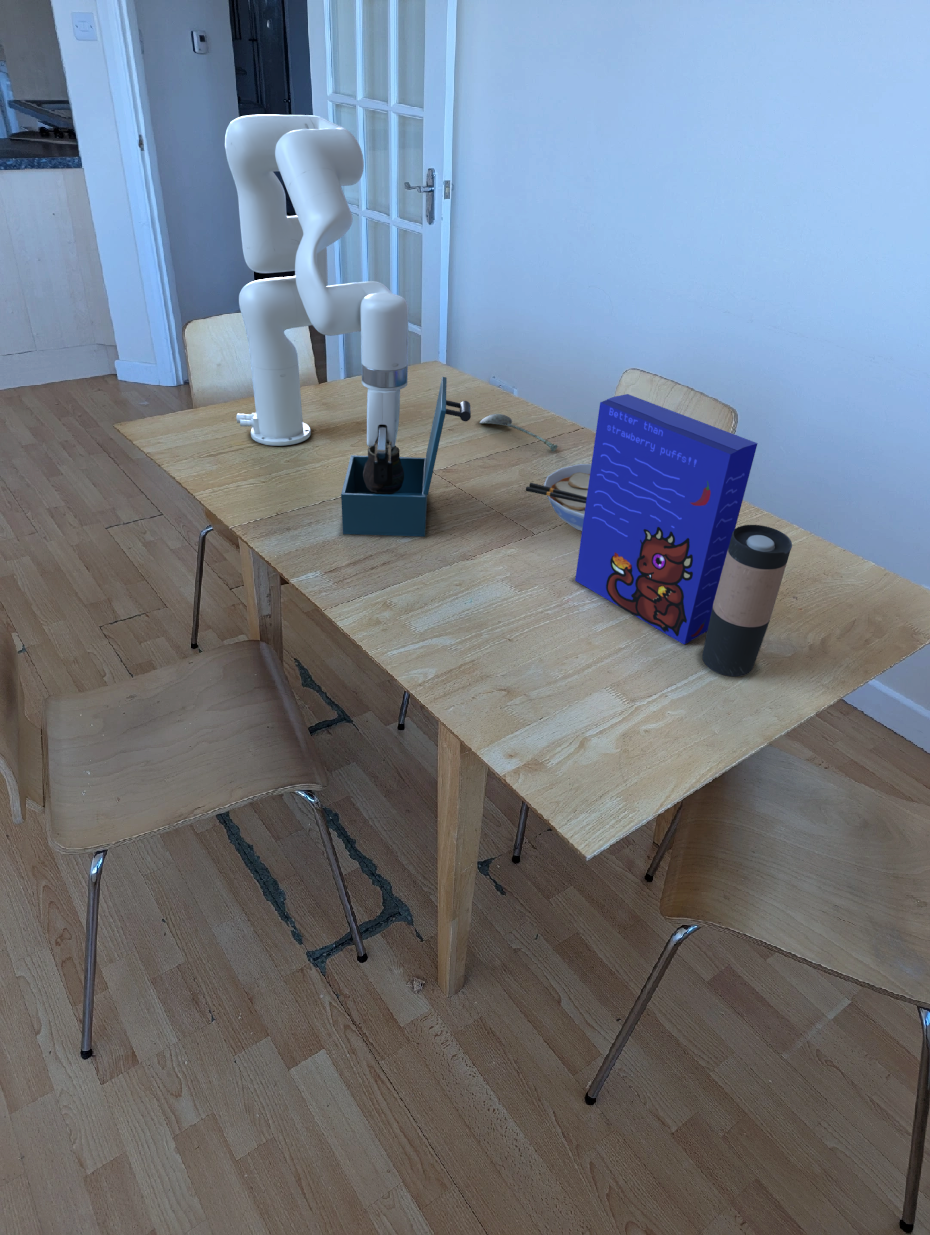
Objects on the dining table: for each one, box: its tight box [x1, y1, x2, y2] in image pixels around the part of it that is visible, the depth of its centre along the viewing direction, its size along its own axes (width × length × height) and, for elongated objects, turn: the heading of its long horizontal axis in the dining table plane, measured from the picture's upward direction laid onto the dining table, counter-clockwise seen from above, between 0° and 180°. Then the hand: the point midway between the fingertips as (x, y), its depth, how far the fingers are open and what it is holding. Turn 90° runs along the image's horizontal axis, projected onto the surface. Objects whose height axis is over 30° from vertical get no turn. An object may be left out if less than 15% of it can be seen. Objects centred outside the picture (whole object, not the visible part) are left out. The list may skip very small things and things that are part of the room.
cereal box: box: [574, 393, 758, 645], centre depth 119 cm, size 22×6×30 cm, turn 40°
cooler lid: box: [423, 376, 472, 496], centre depth 141 cm, size 15×16×5 cm
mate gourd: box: [363, 443, 404, 495], centre depth 144 cm, size 7×8×10 cm
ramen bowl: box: [525, 463, 592, 532], centre depth 146 cm, size 25×23×8 cm
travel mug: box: [701, 524, 793, 678], centre depth 111 cm, size 8×8×20 cm
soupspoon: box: [479, 413, 559, 453], centre depth 181 cm, size 22×3×7 cm
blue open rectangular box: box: [340, 454, 428, 538], centre depth 147 cm, size 14×16×8 cm
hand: (384, 472), depth 145 cm, fingers closed on mate gourd, 7 cm apart
